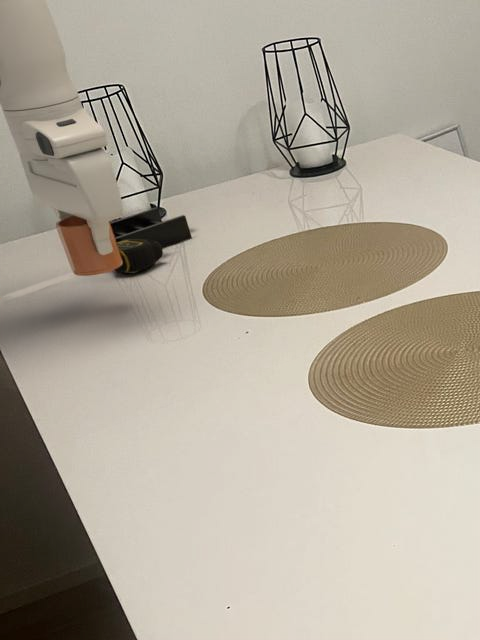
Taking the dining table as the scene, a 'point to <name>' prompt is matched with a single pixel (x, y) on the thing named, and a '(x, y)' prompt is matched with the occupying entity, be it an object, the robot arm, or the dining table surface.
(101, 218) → the robot arm
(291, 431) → the dining table surface
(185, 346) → the dining table surface
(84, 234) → the pot
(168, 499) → the dining table surface
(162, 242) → the rack
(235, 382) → the dining table surface
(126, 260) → the tape measure
